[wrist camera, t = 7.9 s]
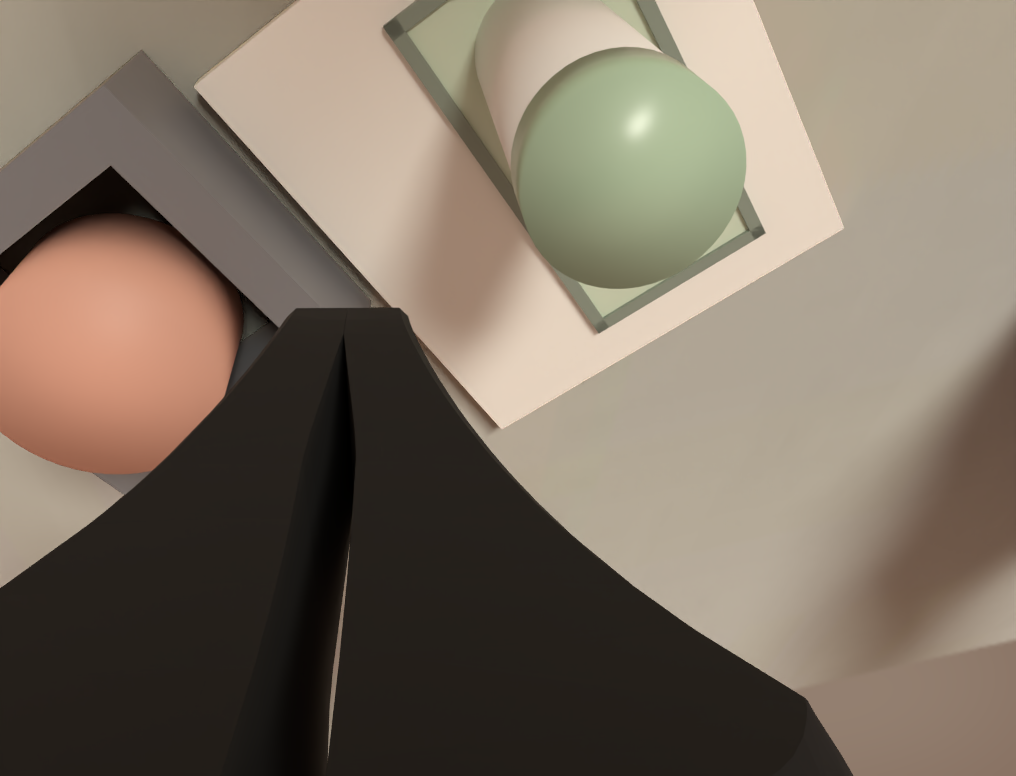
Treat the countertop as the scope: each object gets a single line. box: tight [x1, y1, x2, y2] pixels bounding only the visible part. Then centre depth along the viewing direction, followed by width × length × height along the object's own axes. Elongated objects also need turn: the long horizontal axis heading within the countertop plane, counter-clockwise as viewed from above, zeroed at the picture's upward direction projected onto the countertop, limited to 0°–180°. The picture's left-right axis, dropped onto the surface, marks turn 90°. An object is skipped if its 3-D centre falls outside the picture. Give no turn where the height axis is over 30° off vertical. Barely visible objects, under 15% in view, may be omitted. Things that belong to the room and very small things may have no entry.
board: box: [194, 0, 844, 429], centre depth 17 cm, size 11×10×1 cm
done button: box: [0, 213, 244, 474], centre depth 15 cm, size 4×4×3 cm
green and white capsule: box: [474, 0, 746, 289], centre depth 13 cm, size 3×3×7 cm
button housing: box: [0, 50, 371, 495], centre depth 17 cm, size 7×7×2 cm
